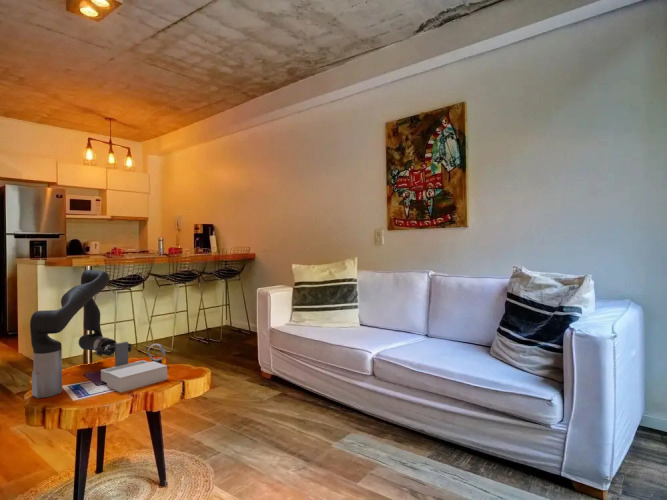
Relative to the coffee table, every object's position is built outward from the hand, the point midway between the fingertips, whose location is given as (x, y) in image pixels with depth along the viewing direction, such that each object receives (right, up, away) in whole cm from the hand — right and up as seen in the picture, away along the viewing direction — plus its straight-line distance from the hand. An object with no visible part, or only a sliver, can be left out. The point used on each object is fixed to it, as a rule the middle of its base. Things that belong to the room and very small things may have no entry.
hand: (120, 351), depth 184 cm
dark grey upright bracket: (+5, -10, -4) cm, 12 cm away
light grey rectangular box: (+13, -11, -10) cm, 19 cm away
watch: (+11, -11, +13) cm, 20 cm away
